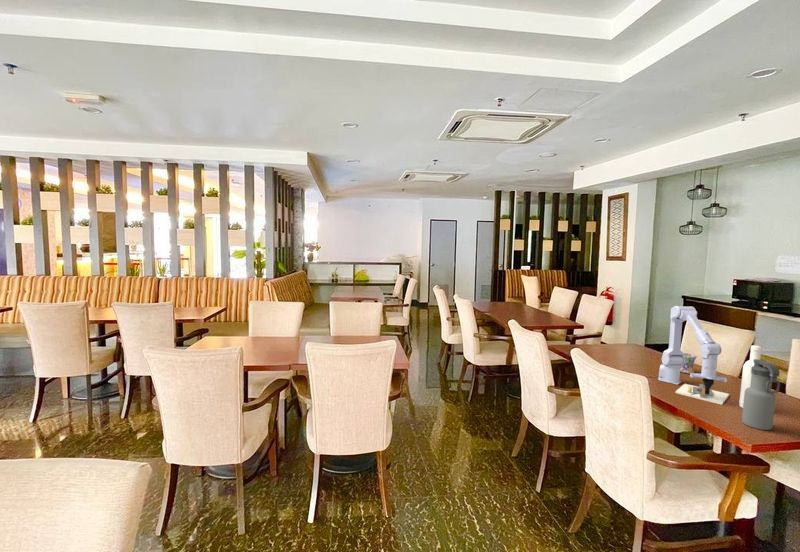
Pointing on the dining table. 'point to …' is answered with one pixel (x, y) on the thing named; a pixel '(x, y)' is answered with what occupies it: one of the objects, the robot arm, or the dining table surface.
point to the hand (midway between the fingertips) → (706, 393)
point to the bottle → (748, 371)
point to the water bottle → (760, 396)
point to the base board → (708, 398)
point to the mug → (688, 363)
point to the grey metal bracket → (702, 394)
